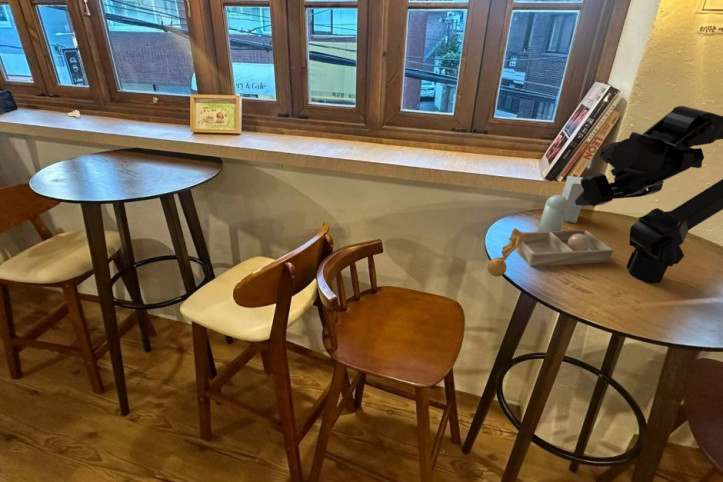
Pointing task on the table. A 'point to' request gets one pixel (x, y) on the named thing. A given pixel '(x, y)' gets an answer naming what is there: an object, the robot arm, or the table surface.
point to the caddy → (560, 249)
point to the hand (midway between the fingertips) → (591, 200)
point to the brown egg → (578, 242)
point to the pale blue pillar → (553, 214)
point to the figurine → (505, 254)
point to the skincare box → (572, 197)
